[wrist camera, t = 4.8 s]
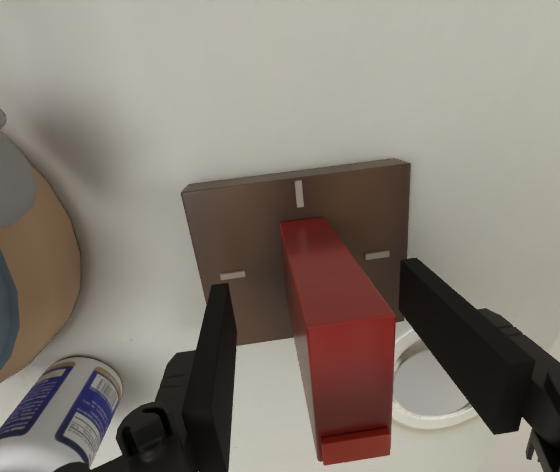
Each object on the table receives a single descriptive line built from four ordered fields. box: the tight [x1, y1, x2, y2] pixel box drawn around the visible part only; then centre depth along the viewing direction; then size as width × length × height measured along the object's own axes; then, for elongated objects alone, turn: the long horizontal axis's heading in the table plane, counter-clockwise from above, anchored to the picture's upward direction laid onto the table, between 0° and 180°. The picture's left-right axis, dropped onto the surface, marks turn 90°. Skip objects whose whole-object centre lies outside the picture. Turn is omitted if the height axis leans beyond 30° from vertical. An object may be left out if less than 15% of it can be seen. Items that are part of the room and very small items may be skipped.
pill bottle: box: [0, 357, 122, 472], centre depth 18 cm, size 5×5×9 cm
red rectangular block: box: [279, 217, 396, 465], centre depth 14 cm, size 6×2×9 cm, turn 6°
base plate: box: [181, 159, 411, 346], centre depth 19 cm, size 12×10×2 cm
